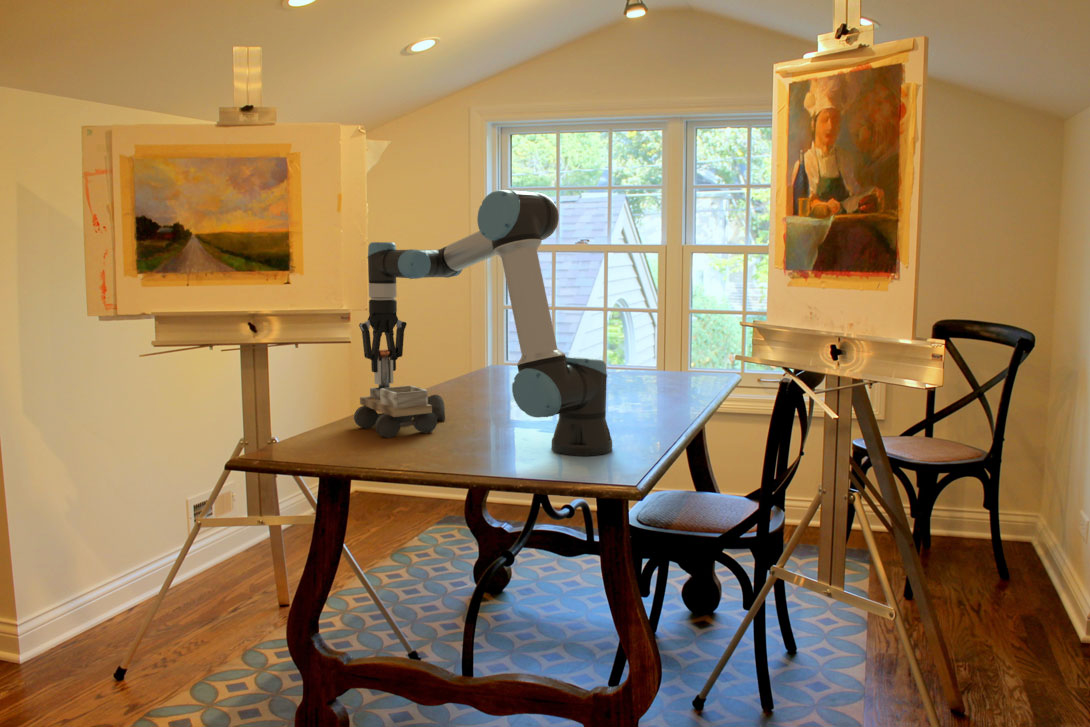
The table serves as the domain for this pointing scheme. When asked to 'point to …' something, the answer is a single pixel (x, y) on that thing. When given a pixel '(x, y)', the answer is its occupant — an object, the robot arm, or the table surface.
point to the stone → (437, 406)
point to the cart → (396, 410)
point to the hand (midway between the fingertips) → (384, 383)
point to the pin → (384, 368)
